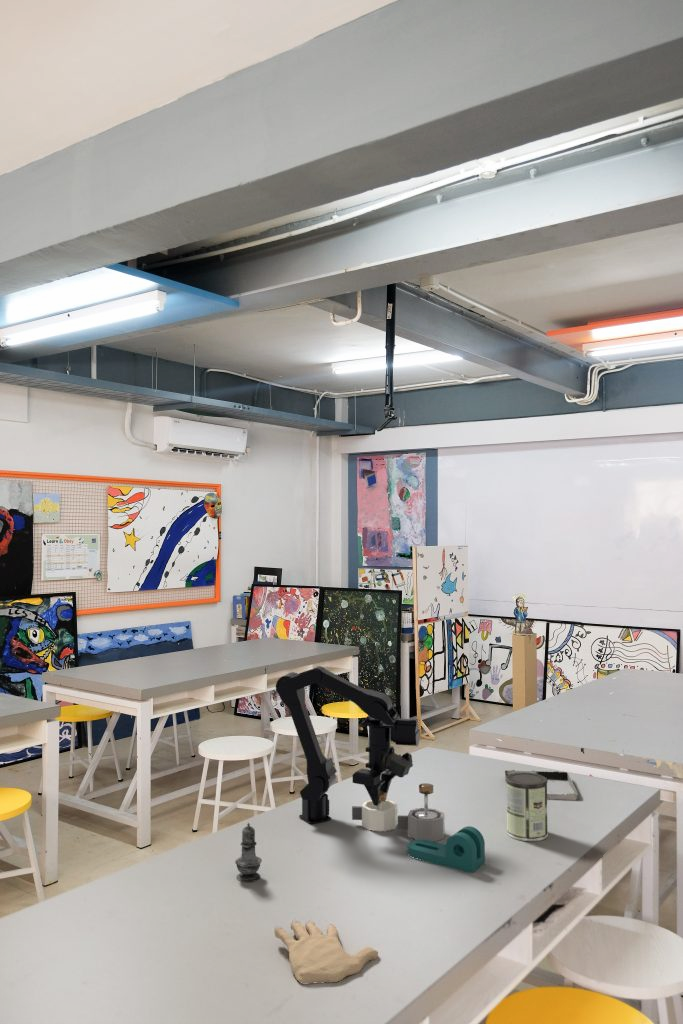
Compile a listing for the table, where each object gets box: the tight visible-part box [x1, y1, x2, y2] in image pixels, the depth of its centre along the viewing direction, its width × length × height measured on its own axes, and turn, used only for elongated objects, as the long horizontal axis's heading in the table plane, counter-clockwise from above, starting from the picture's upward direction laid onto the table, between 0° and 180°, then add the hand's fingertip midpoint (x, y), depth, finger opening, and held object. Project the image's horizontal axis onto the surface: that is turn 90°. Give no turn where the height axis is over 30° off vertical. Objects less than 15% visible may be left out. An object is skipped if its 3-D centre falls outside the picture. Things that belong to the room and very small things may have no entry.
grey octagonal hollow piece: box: [397, 807, 446, 842], centre depth 208 cm, size 11×9×5 cm
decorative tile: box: [504, 769, 579, 801], centre depth 246 cm, size 20×3×20 cm
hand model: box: [273, 918, 379, 984], centre depth 151 cm, size 19×5×20 cm
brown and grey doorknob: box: [378, 791, 388, 810], centre depth 216 cm, size 6×6×8 cm
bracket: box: [407, 825, 486, 874], centre depth 193 cm, size 18×7×8 cm, turn 56°
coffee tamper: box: [415, 782, 437, 820], centre depth 209 cm, size 6×6×8 cm
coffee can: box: [505, 773, 549, 842], centre depth 209 cm, size 10×10×14 cm
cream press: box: [351, 799, 399, 832], centre depth 215 cm, size 11×9×5 cm
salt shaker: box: [234, 822, 263, 883], centre depth 184 cm, size 6×6×12 cm
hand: (379, 803), depth 216 cm, fingers closed on brown and grey doorknob, 3 cm apart
